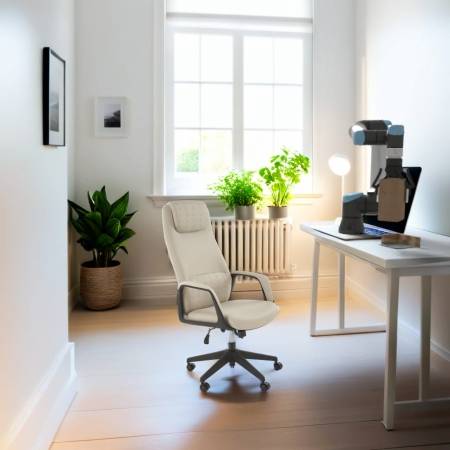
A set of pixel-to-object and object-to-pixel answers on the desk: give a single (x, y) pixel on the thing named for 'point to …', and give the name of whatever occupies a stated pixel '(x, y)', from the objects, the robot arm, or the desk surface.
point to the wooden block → (391, 199)
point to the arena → (400, 241)
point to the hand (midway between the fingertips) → (392, 202)
